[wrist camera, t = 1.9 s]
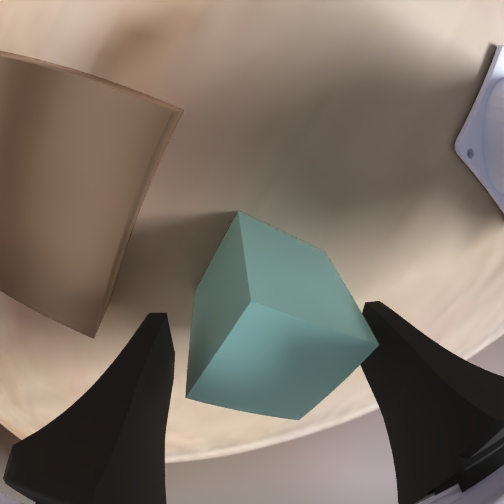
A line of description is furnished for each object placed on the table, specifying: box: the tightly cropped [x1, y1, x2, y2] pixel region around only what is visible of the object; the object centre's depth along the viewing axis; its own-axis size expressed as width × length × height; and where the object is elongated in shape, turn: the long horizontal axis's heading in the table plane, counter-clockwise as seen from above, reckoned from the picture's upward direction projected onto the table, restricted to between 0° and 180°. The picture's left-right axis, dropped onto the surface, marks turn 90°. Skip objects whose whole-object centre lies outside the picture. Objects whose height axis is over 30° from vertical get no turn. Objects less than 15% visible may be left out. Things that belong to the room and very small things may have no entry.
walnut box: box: [0, 51, 184, 338], centre depth 10 cm, size 10×10×3 cm
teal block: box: [185, 211, 379, 420], centre depth 11 cm, size 4×4×6 cm
